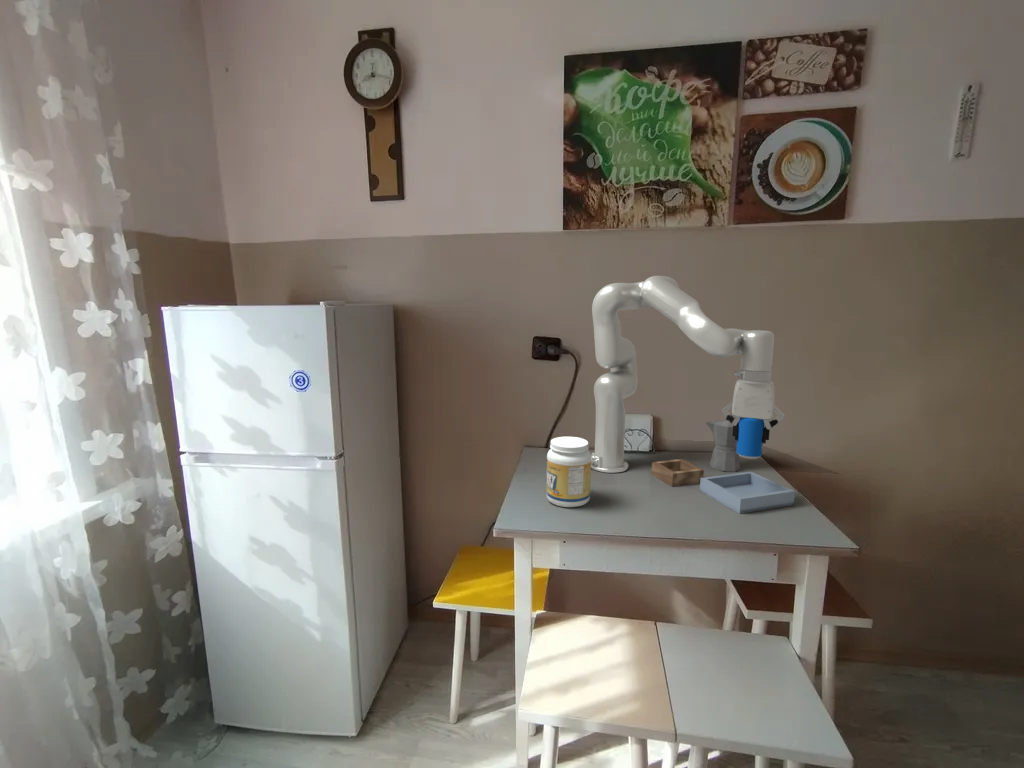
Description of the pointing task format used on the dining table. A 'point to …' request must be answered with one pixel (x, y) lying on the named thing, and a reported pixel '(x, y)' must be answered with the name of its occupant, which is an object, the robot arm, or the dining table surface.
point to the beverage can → (750, 438)
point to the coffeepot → (724, 446)
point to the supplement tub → (568, 472)
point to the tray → (747, 492)
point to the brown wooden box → (677, 472)
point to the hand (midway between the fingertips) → (750, 440)
